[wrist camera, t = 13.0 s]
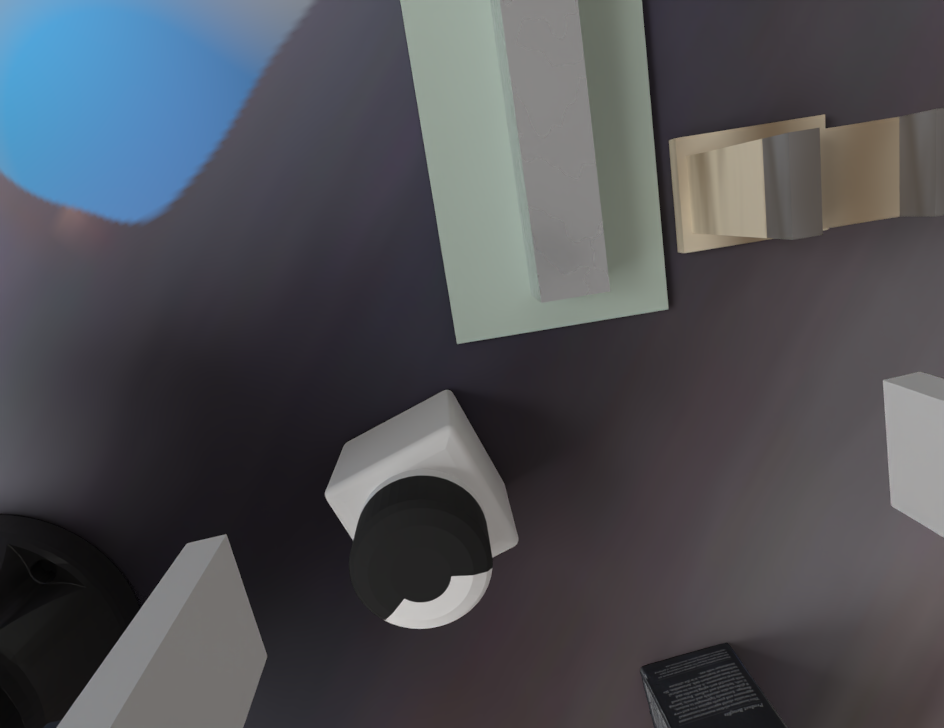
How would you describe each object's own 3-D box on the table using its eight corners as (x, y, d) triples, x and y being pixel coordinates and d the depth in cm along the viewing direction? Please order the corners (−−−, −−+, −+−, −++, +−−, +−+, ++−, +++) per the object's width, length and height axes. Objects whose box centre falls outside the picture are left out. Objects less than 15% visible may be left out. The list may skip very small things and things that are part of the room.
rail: (593, 283, 36) (610, 291, 32) (531, 294, 35) (541, 303, 32) (539, -176, 31) (552, -225, 27) (466, -165, 30) (470, -213, 27)
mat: (456, 342, 36) (457, 344, 36) (368, -191, 30) (367, -199, 30) (664, 307, 37) (668, 309, 36) (617, -228, 31) (621, -237, 30)
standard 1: (677, 252, 36) (780, 267, 25) (668, 140, 35) (773, 106, 24) (817, 229, 36) (978, 235, 25) (814, 117, 35) (982, 73, 24)
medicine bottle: (341, 443, 37) (299, 545, 26) (449, 385, 37) (455, 463, 25) (402, 540, 39) (388, 678, 27) (506, 486, 39) (537, 603, 27)
